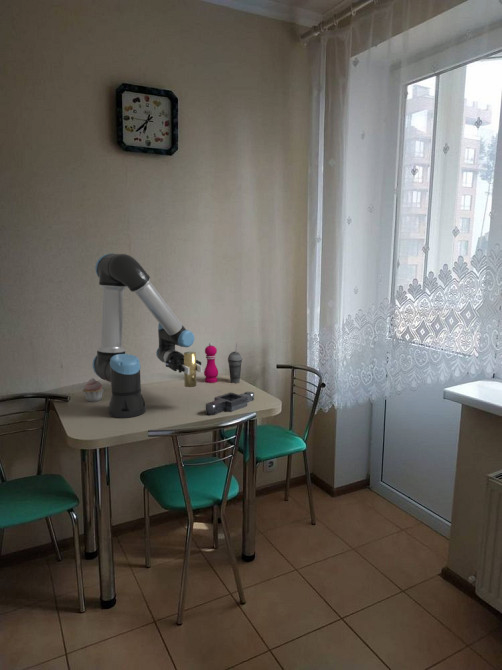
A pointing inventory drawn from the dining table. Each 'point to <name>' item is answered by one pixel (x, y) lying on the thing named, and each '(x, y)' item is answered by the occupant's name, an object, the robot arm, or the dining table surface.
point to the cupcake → (93, 390)
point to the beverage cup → (235, 366)
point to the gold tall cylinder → (191, 363)
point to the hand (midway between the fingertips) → (195, 370)
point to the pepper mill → (211, 364)
